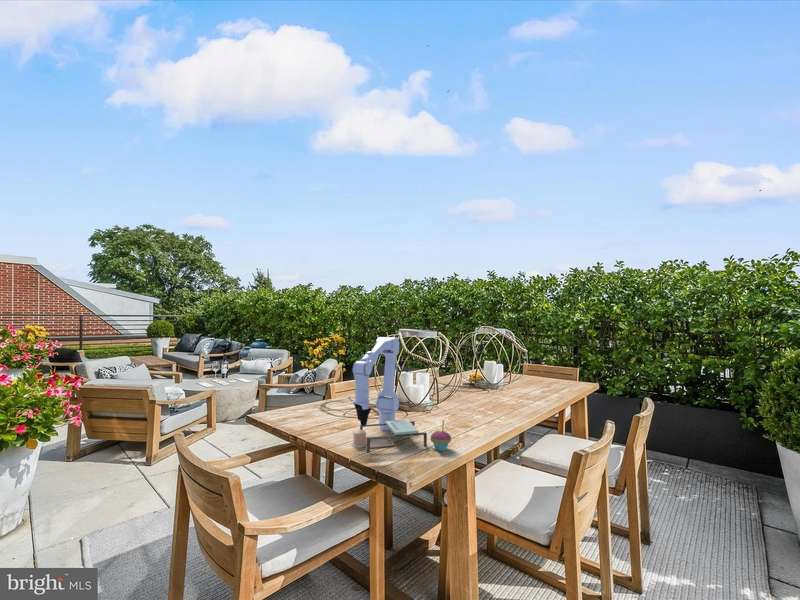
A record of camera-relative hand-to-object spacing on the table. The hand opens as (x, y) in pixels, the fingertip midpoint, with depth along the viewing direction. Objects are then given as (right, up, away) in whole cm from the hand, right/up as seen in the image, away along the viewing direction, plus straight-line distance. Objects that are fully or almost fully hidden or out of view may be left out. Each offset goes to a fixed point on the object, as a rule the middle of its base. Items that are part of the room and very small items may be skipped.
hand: (362, 422), depth 163 cm
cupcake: (+33, -10, -4) cm, 34 cm away
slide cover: (+17, -3, +4) cm, 17 cm away
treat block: (-1, -9, -1) cm, 9 cm away
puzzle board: (+10, -10, +2) cm, 14 cm away
